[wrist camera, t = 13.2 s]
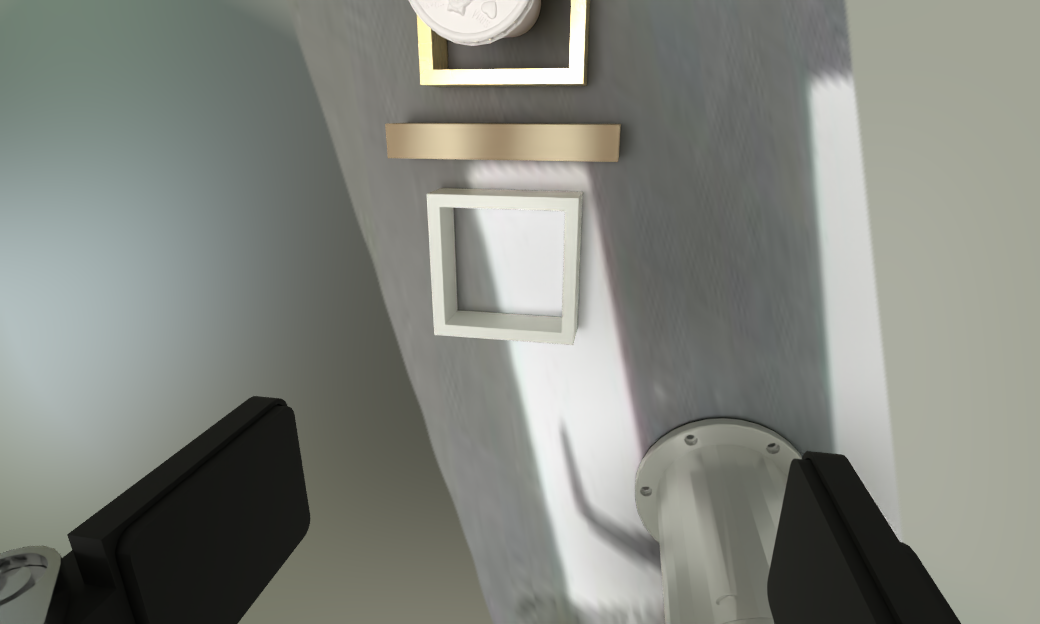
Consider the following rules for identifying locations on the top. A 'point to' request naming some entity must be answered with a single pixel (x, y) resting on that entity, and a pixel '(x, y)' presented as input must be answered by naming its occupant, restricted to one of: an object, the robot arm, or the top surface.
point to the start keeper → (444, 266)
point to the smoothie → (478, 18)
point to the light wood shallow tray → (438, 75)
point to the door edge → (504, 141)
